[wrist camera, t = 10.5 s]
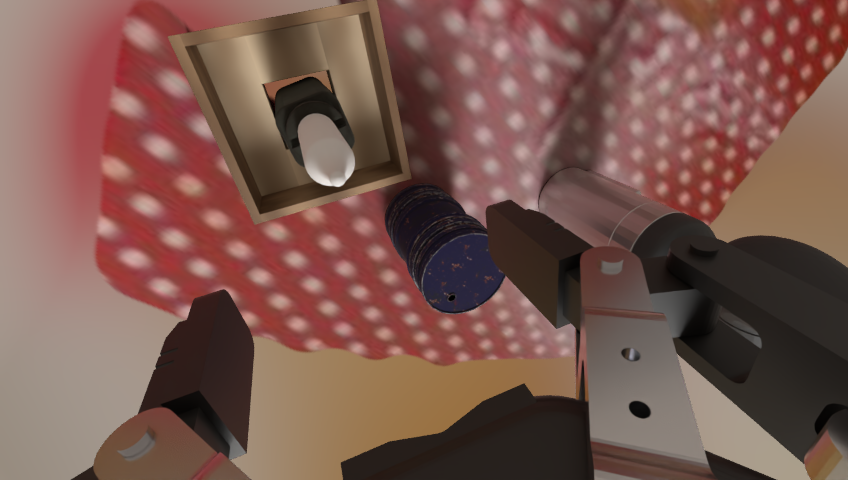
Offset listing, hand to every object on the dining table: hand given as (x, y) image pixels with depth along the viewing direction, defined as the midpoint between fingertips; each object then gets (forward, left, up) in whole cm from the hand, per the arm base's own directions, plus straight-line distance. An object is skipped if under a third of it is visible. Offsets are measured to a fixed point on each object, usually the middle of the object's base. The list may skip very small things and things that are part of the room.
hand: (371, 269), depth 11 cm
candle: (0, 0, -34) cm, 34 cm away
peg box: (0, 0, -34) cm, 34 cm away
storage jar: (-10, +17, -34) cm, 40 cm away
